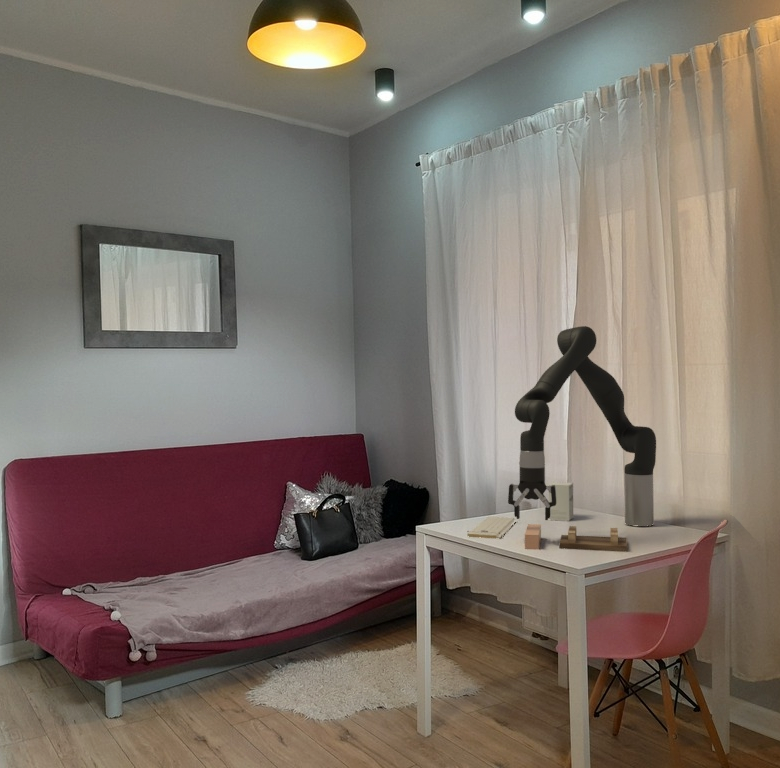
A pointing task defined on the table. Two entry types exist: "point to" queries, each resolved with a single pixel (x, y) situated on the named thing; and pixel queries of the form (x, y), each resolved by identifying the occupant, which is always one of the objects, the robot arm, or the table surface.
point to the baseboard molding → (492, 528)
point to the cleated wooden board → (593, 541)
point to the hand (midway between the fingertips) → (532, 519)
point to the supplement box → (562, 501)
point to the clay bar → (532, 536)
